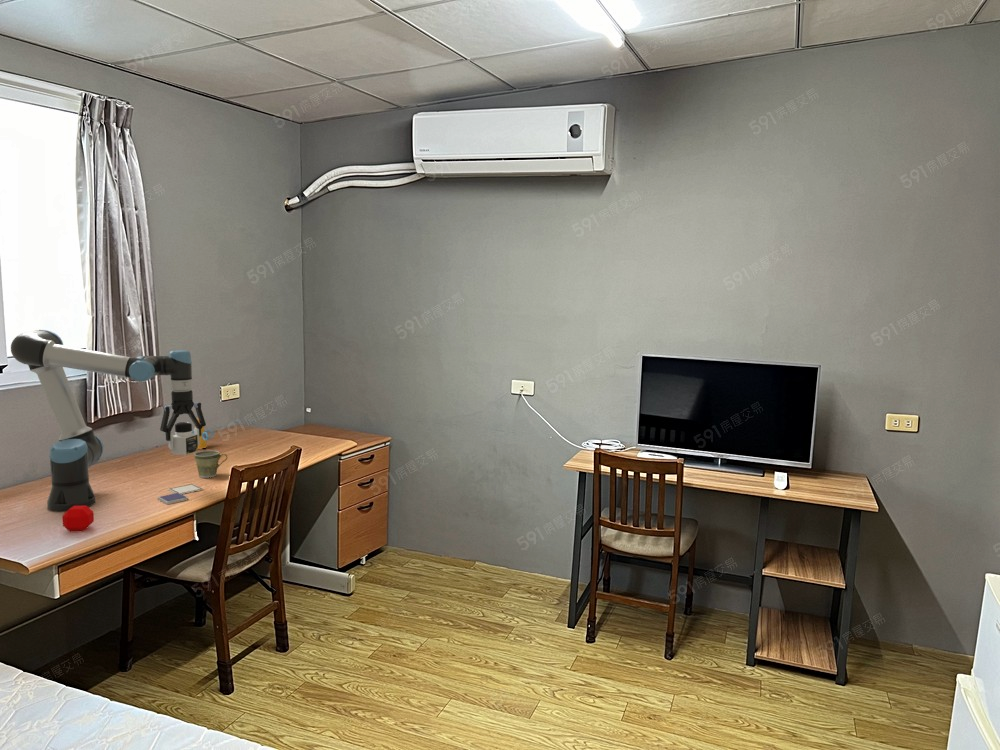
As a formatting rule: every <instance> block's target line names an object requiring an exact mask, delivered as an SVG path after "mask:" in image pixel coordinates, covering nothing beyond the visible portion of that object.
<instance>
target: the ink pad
mask: <svg viewBox="0 0 1000 750" xmlns="http://www.w3.org/2000/svg"><path fill="white" fill-rule="evenodd" d="M187 499H188V500H189V497H188V496H187V495H185V494H183V495H182V494H180V493H171V494H165V495H161V496H158V497H157V501H159V500H160V502H162V503H163V504H165V505H171V504H176V503H180V501H181V502H185V501H184V500H186V501H188V500H187Z"/></svg>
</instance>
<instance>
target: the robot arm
mask: <svg viewBox="0 0 1000 750" xmlns="http://www.w3.org/2000/svg"><path fill="white" fill-rule="evenodd" d="M10 352H11V355H12V356H13V358H14V359H15V360H16V361H17V362H19V363H20V364H23V365H27V366H28V368H29V371H30V372H32V373H35V374H36V376H37V377H38V380H39V382H40V385H41V387H42V390H43V392H44V393H43V394H44V395H45V397H46V400H47V402H48V405H49V406H50V407H49V408H50V409H51V411H52V414H53V417H54V419H55V421H56V425H57V426H58V429H59V432H60V435H59V437H58V441H57V442H55V443H53V444H52V445H50V448H49V464H50V477H51V478H50V479H51V489H50V492H49V496H48V498H47V503H46V504H47V509H48V510H49V511H53V512H67V511H68V510H69V509H70V508H72V507H73V506H85V505H86V506H88V507H89V508H90V507H92V506H93V505H95V504H96V495H95V492H94V491H93V488H92V485H91V484H90V477H89V476H90V475H89V468H90V467H91V466H93V465H95V464H97V463H98V461H99V460H100V459H101V457H102V456H103V453H104V444H103V441H102V439H100V437H99V436H97V435H96V434H95V432H94V430H93V428H92V427H90V426H87V424H86V422H85V419H84V417H83V415H82V412H81V410H80V407H79V404H78V402H77V399H76V397H75V395H74V392H73V390H72V387H71V385H70V382H69V379H68V377H67V374H66V372H65V369H64V368H68V369H72V370H73V369H74V370H78V371H87V372H93V373H99V374H106V375H111V376H115V377H123V378H127V379H133V381H135V382H147V381H149V380H151V379H152V378H154V377H156V376H170V389H171V391H170V392H171V404H169V405H163V407H162V408H163V415H162V418H161V419H162V420H161V423H160V428H159V430H160V432H162V433H165V440H166V442H167V444H168V449H169V450H171V449H174V448H173V435H174V433H173V432H172V429H173V428H174V427H175V424H176V422H177V419H178V418H179V416H180V415H184V414H186V415H188V417H189V418H190V420H191V422H192V423H193V424H194V426H196V428H195V427H194V428H193V430H194V434H197V440H198V445H200V443H199V436H201V429H202V427H203V426H204V427H206V426H207V423H206V420H205V417H204V414H203V411H202V403H201V402H199V401H195V402H194V401H193V399H194V398H193V397H194V396H193V395H194V394H193V390H192V389H193V377H192V376H193V375H192V372H193V371H192V369H193V367H192V364H193V363H192V356H191V352H190V351H189V350H185V349H179V350H170V352H169V354H168V355H141V356H140V355H139V356H136V357H132V356H126V355H119V354H114V353H109V352H102V351H97V350H91V349H86V348H80V347H73V346H68V345H64V341H63V340H62V338H61V337H60V336H59V335H58V334H57V333H55V332H53V331H52V330H46V329H38V330H37V329H36V330H32V331H29V332H28V331H27V332H24V333H23V332H22V333H20V334H18V335H17V336H16V337H14V338H13V340H12V342H11V344H10ZM193 407H194V408H195V412H196V415H195V414H194V411H193ZM171 410H173V412H172V413H171V416H170V412H171ZM196 416H197V417H196ZM169 418H170V419H169ZM197 418H198V419H199V422H200V423H199V422H198V420H197Z"/></svg>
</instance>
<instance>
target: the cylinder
mask: <svg viewBox="0 0 1000 750" xmlns="http://www.w3.org/2000/svg"><path fill="white" fill-rule="evenodd" d="M196 418H197V420H198V422H199V419H198V417H196ZM199 423H200V422H199ZM194 426H195V425H194ZM194 428H196V426H195V427H194ZM192 433H193V434H194V429H192ZM208 433H211V436H209V434H208ZM213 437H214V432H213V431H212V430H205V426H203V427H202V429H201V436H199V443H200V445H198V448H206V447H207V448H208V440H210V439H212V438H213ZM207 448H206V449H207Z"/></svg>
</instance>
